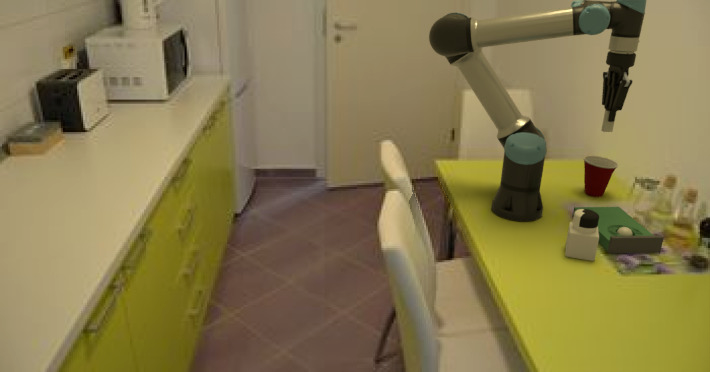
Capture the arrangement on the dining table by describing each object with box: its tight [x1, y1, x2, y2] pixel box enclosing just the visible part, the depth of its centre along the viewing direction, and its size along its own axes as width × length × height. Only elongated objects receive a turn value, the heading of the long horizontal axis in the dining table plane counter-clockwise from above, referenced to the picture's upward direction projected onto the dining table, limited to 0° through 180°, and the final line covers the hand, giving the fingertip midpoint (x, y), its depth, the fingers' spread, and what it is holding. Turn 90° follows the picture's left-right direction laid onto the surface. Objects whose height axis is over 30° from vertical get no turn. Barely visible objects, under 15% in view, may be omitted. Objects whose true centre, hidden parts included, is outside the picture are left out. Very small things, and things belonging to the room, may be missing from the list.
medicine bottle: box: [565, 209, 599, 262], centre depth 150 cm, size 7×7×12 cm
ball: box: [617, 227, 633, 236], centre depth 158 cm, size 4×4×4 cm
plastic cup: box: [583, 154, 620, 198], centre depth 188 cm, size 11×11×12 cm
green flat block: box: [572, 206, 664, 254], centre depth 163 cm, size 14×23×4 cm, turn 4°
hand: (606, 131), depth 173 cm, fingers closed
